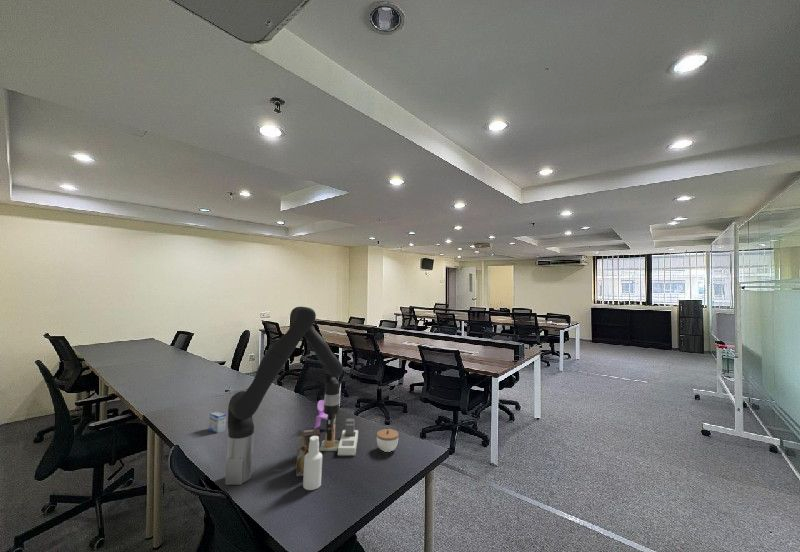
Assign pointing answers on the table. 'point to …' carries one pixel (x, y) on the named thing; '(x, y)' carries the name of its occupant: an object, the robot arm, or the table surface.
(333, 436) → the plug
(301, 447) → the coffee box
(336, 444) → the tray
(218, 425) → the medicine box
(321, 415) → the toy chair
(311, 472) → the white bottle
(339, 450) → the white slotted holder
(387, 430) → the lidded jar
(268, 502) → the table surface
